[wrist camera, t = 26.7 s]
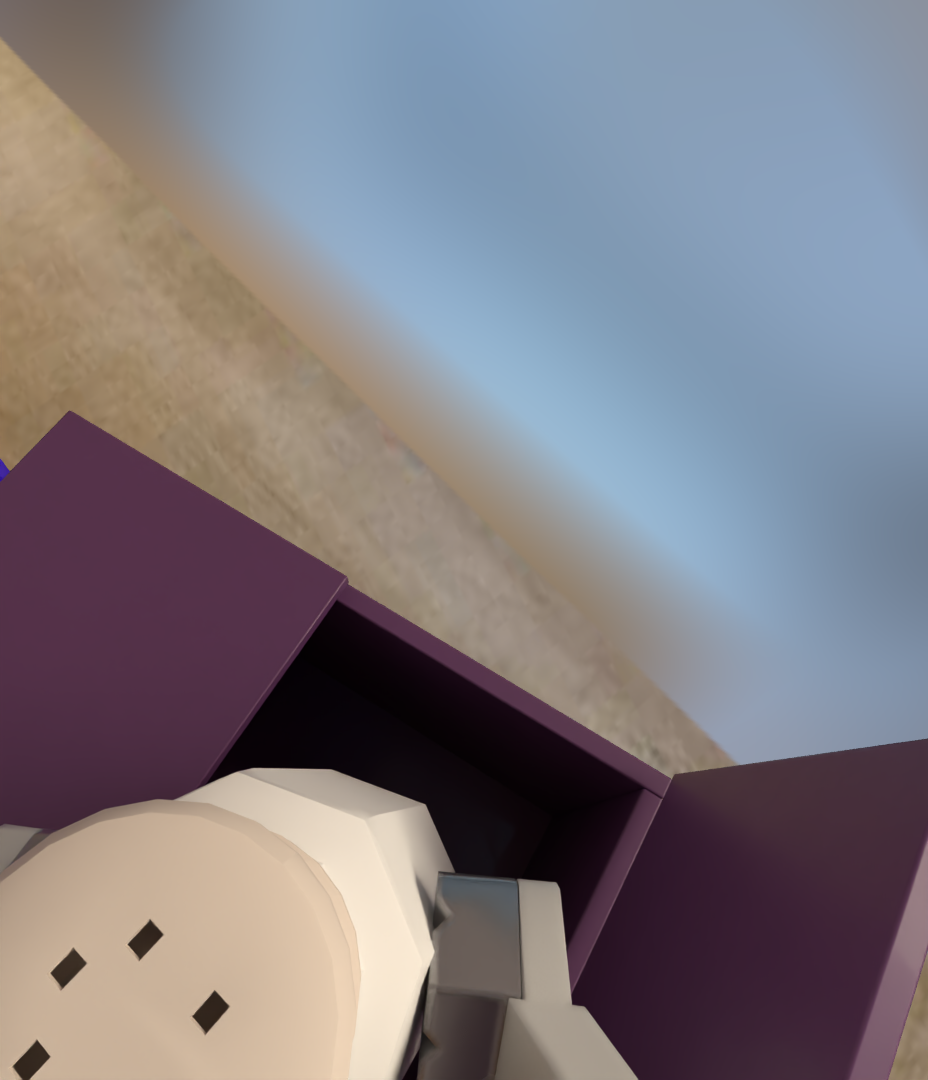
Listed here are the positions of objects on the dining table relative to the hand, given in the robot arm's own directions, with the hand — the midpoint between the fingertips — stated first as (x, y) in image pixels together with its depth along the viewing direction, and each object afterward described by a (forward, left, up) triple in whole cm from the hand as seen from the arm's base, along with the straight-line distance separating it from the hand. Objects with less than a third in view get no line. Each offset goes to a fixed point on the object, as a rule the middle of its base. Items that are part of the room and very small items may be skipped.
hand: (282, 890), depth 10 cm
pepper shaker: (0, +1, -6) cm, 6 cm away
